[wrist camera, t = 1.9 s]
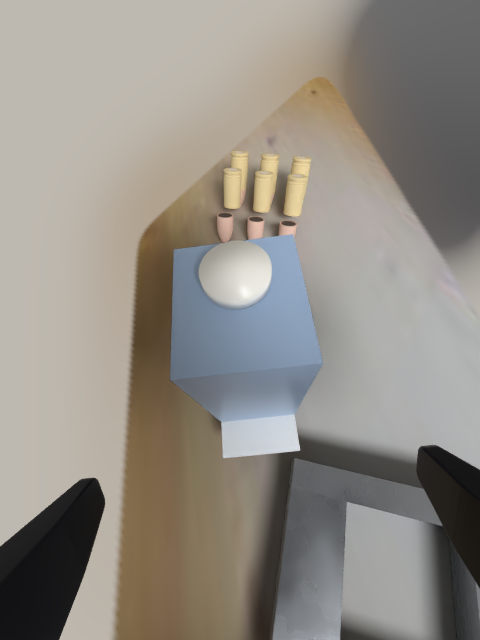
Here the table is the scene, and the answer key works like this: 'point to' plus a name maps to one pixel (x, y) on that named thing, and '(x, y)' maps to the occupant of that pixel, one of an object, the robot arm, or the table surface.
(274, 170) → the ammunition
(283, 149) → the table surface
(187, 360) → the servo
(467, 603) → the plate
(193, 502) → the table surface
